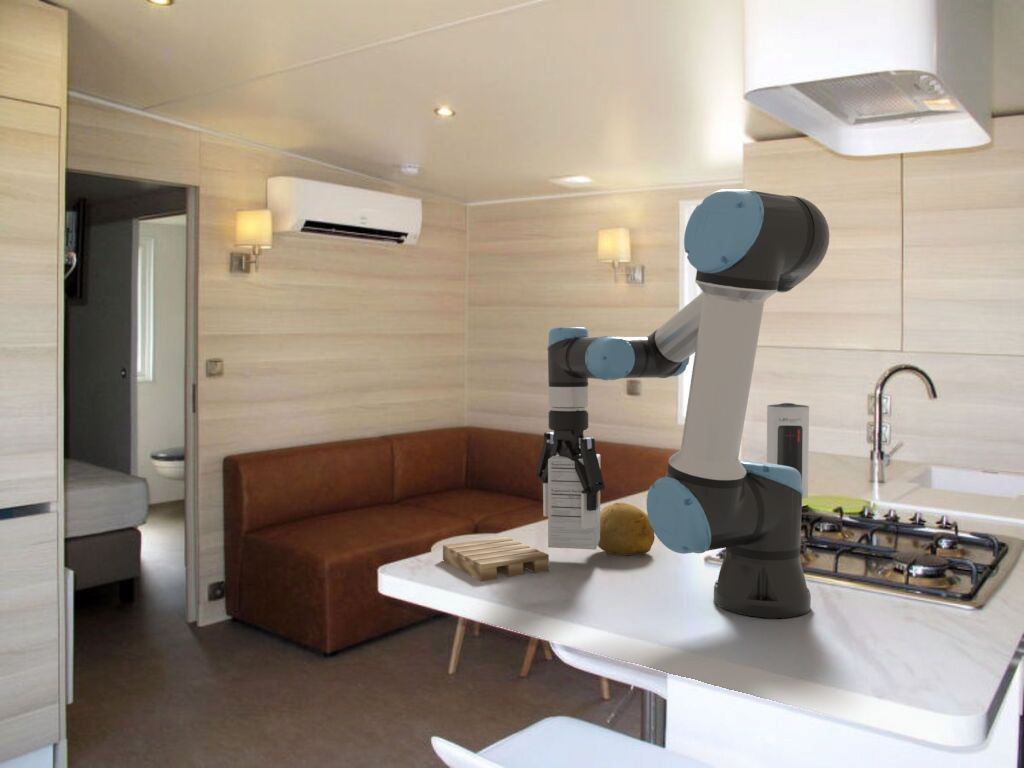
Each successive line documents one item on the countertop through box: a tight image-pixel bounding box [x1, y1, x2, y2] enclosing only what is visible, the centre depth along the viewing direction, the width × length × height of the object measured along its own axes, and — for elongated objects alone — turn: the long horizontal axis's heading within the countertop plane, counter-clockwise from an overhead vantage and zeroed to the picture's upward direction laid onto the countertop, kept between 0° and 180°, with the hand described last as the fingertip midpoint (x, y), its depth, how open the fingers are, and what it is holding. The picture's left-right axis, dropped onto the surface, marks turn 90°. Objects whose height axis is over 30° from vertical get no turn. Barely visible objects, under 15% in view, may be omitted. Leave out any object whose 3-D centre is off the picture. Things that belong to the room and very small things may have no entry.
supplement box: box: [547, 453, 602, 550], centre depth 163 cm, size 10×9×17 cm
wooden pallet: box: [442, 536, 550, 582], centre depth 161 cm, size 16×14×3 cm
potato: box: [597, 502, 656, 556], centre depth 171 cm, size 10×12×10 cm
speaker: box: [766, 402, 810, 499], centre depth 220 cm, size 11×10×26 cm
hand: (568, 521), depth 162 cm, fingers closed on supplement box, 12 cm apart
